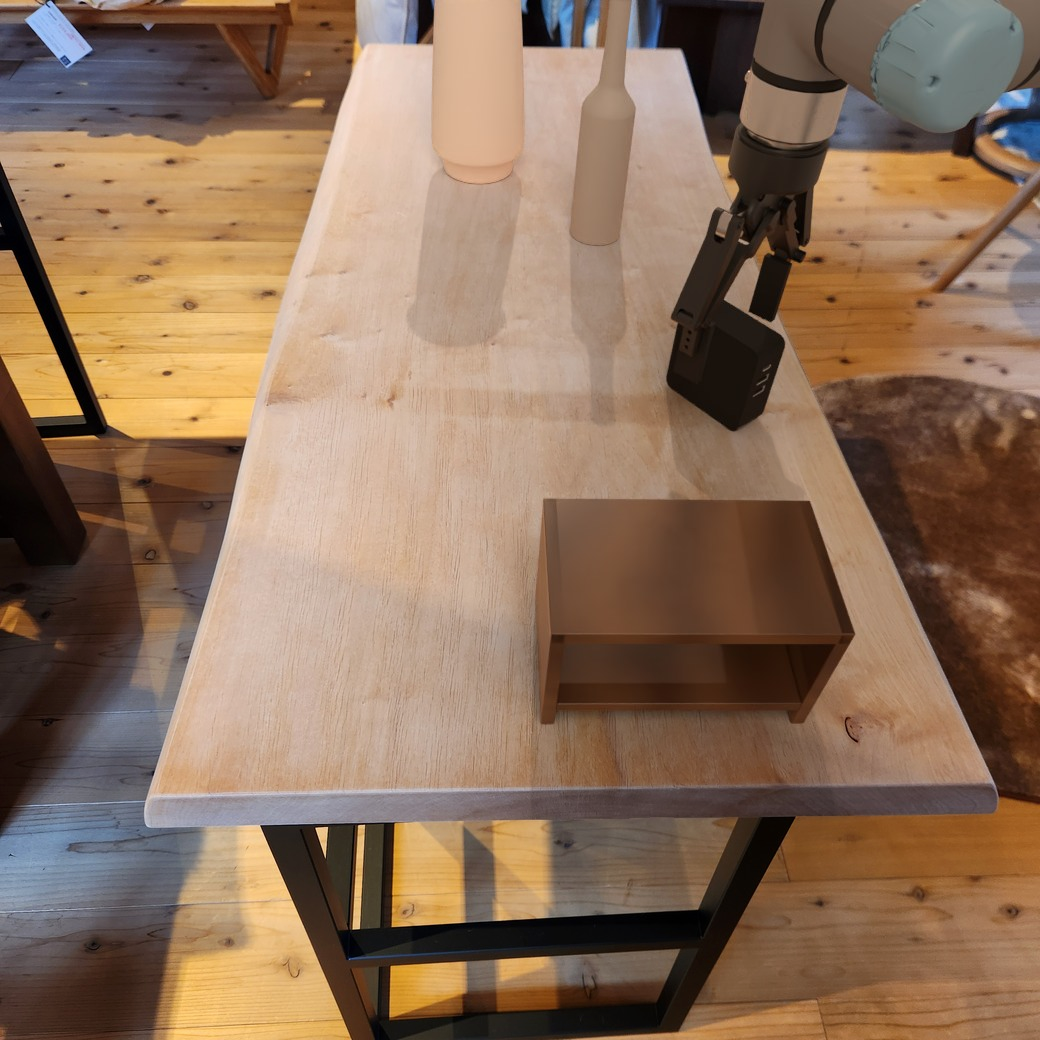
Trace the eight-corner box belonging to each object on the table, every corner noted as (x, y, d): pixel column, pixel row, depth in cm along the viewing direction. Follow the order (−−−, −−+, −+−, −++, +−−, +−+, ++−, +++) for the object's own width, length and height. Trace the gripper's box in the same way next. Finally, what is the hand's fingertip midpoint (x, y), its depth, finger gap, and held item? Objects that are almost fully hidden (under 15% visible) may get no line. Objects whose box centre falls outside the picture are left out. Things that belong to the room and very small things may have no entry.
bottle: (571, 244, 109) (593, -1, 88) (568, 218, 113) (589, -21, 92) (622, 246, 109) (656, 2, 88) (617, 220, 113) (649, -19, 93)
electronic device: (735, 434, 86) (759, 354, 78) (664, 384, 91) (680, 304, 83) (761, 418, 88) (788, 338, 80) (690, 369, 93) (709, 290, 85)
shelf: (769, 596, 72) (810, 500, 63) (803, 723, 64) (856, 634, 55) (535, 595, 72) (543, 498, 63) (540, 724, 64) (550, 634, 55)
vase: (523, 191, 118) (532, -43, 97) (429, 188, 117) (418, -48, 97) (523, 148, 126) (531, -75, 106) (435, 145, 126) (427, -79, 105)
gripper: (817, 72, 76) (758, 279, 92) (655, 164, 63) (619, 385, 79) (895, 98, 73) (820, 307, 89) (741, 200, 60) (685, 423, 76)
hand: (725, 344), depth 84 cm, fingers open, 13 cm apart
